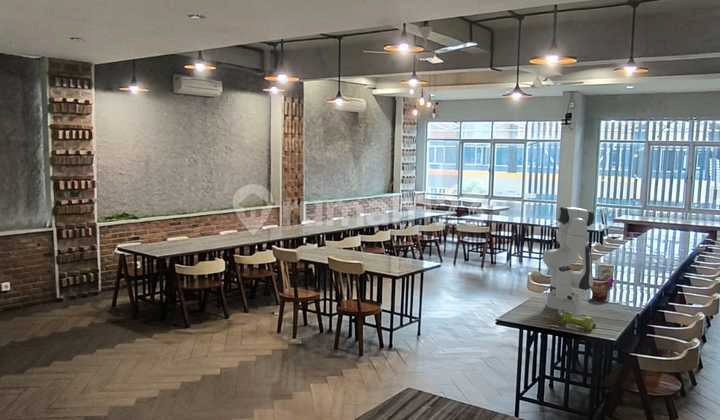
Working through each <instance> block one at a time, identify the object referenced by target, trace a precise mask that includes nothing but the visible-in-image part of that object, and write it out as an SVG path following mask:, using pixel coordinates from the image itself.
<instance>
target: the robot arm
mask: <svg viewBox="0 0 720 420" xmlns="http://www.w3.org/2000/svg"><path fill="white" fill-rule="evenodd" d="M556 217H557V218H556V219H557V221H558V223H559V226H558V230H557V235H556V241H557V242H558V244H559V245H560V247H559V248H551V249H548V250H545V251H544V252H543V254H542V261H543V263H544V265H546V266H547V267H548V270H549V272H550V273H549V274H550V285H549V292H547V300H546V302H545V306H547V308H550V309H553V310H557V312H558V313H559V315H560V317H563V316H564V314H565V313H567V312H569V313H574V314H578V313H580V311H581V301H580V295H579V294H576V293H575V292H573V289H572V288H575V289H580V290H583V291H588V290H591V287H592V286H593V279H594V276H593V265H592V264H593V259H592V250H591V247H590V246H589V245H588V242H587V235H588V227H590V226H592V225H593V224H594V221H595V213H594V212H593V211H592V210H590V209H585V208H580V207H571V206H561V207H559V209H558V210H557V213H556ZM579 256H581V257H582V270H583V271H582V272H581V271H580V272H579V271H573V270H572V268H571V267H569V266H570V265H573V264H576V263H577V262H579V259H580V258H579ZM562 311H563V312H562Z"/></svg>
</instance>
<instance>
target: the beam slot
mask: <svg viewBox="0 0 720 420" xmlns="http://www.w3.org/2000/svg"><path fill="white" fill-rule="evenodd" d="M553 318H554V319H552V318H549V317H548V318H547V317H543V318H542V323H545V322H546V324H549V325H554V326H558V327H562V328H566V329H569V330H574V331H578V332H582V333H585V331H586V329H585V327H584V326H582V325H581V324H579V325H581V326H579V325H578V324H574V323H571V324H569V323H565V322H563V317H560V314H557V313H554V314H553ZM555 319H557V320H555ZM595 328H597V323H595V322H593V327H592V329H595Z"/></svg>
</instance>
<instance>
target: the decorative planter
mask: <svg viewBox="0 0 720 420" xmlns="http://www.w3.org/2000/svg"><path fill="white" fill-rule="evenodd" d="M590 291H591V293H592V295H591V299H592V300H593V301H601V302H604V301H607V299H608V294H609V291H610V286H609V284H608V281H607V280H604V279H597V278H593V286H592V287H591V288H590Z"/></svg>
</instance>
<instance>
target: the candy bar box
mask: <svg viewBox="0 0 720 420" xmlns="http://www.w3.org/2000/svg"><path fill="white" fill-rule="evenodd" d="M614 269H615V265H614V264H608V263H607V264H606V263H598V265H597V276H596V279H604V280H607V281H608V284H609V287H614V286H613V285H614V272H615V270H614Z"/></svg>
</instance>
